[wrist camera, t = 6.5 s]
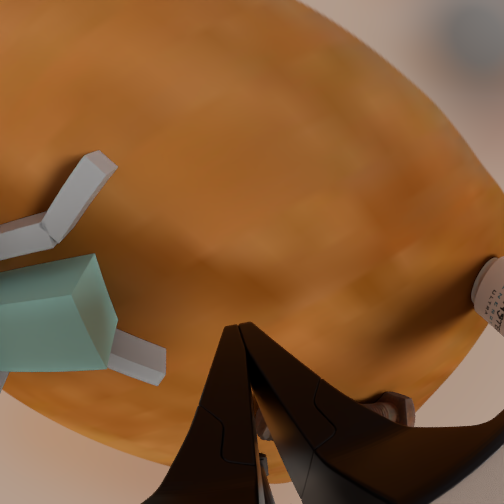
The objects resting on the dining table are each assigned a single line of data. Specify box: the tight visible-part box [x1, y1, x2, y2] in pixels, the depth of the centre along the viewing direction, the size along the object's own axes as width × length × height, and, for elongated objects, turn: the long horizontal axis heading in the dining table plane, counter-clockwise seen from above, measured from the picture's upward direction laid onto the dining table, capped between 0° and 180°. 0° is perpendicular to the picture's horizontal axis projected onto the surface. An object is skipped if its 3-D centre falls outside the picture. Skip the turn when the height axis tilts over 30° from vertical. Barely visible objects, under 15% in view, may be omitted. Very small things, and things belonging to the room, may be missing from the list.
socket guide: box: [0, 150, 166, 393], centre depth 10 cm, size 12×15×6 cm
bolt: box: [255, 392, 415, 441], centre depth 20 cm, size 6×5×15 cm
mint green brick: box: [0, 253, 118, 372], centre depth 11 cm, size 4×12×4 cm, turn 95°
